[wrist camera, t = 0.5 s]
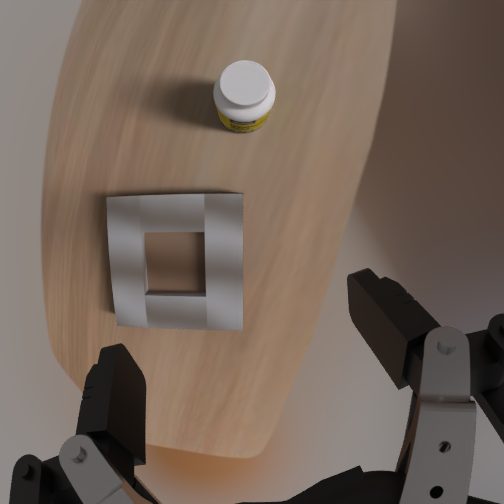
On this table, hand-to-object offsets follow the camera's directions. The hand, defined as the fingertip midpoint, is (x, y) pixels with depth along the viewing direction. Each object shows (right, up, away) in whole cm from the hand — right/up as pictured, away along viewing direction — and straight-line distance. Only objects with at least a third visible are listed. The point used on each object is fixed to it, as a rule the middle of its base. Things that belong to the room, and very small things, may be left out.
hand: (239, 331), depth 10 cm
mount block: (-8, +2, +24) cm, 25 cm away
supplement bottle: (0, +18, +21) cm, 28 cm away
